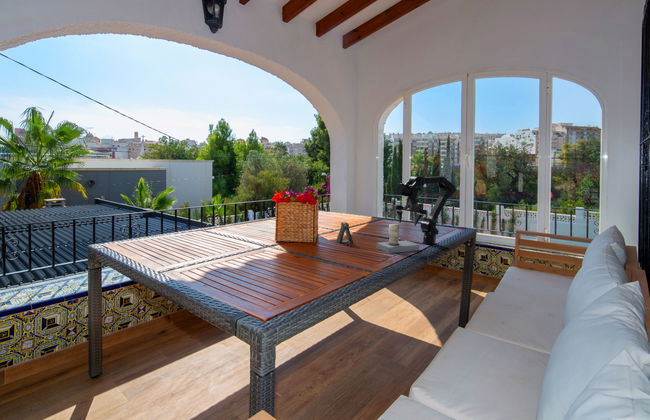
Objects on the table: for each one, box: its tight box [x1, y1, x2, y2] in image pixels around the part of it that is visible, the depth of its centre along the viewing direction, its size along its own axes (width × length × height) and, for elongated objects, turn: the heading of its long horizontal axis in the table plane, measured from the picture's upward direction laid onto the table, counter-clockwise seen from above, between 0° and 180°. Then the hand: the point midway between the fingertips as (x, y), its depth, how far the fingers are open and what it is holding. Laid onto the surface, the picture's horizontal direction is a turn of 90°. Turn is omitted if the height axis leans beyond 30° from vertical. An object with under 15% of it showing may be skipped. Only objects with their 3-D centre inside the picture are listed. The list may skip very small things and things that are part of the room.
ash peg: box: [388, 223, 400, 246], centre depth 195 cm, size 6×6×14 cm
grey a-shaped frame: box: [336, 221, 354, 244], centre depth 213 cm, size 9×6×12 cm, turn 104°
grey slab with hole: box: [376, 240, 420, 254], centre depth 197 cm, size 20×12×3 cm, turn 112°
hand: (407, 224), depth 203 cm, fingers open, 9 cm apart
